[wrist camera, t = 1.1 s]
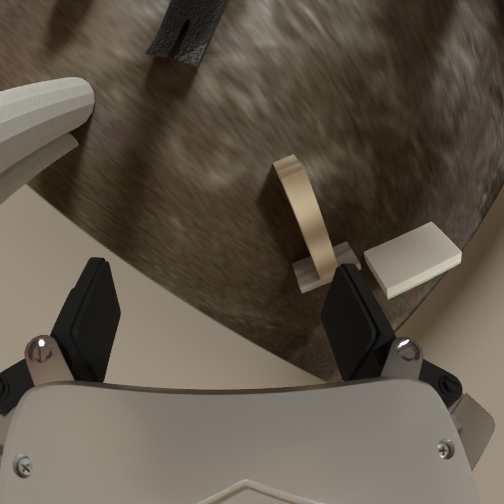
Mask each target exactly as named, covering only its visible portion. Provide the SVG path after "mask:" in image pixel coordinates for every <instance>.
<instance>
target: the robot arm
mask: <svg viewBox="0 0 504 504" xmlns="http://www.w3.org/2000/svg"><path fill="white" fill-rule="evenodd" d="M120 315H121V312H120V307H119V303H118V299H117V295H116V291H115V287H114V282H113V278H112V274H111V269H110V265H109V262H108V261H105V259H104V258H96V257H92V258H90V259H89V261H88V263H87V264H86V266H85V268H84V270H83V272H82V274H81V276H80V278H79V280H78V282H77V284H76V286H75V287H74V288H73V289H72V290H71V291H70V293H69V295H68V297H67V299H66V301H65V303H64V305H63V307H62V309H61V312H60V314H59V316H58V318H57V321H56V323H55V325H54V327H53V330H52V332H51V334H50V336H48V335H40V336H37V337H35V338H33V339H32V340H31V341H30V342H29V343H28V344H27V346H26V348H25V359H23V360H21V361H20V362H18V363H16V364H14V365H13V366H11V367H10V368H8V369H6V370H4V371H3V372H1V373H0V504H480V502H479V498H478V494H477V489H476V485H475V482H474V478H473V474H472V471H473V469H474V467H475V466H476V464H477V462H478V461H479V459H480V457H481V455H482V454H483V452H484V450H485V448H486V446H487V444H488V442H489V440H490V438H491V436H492V434H493V432H494V429H495V422H494V419H493V417H492V416H491V415H490V414H489V413H488V412H487V411H486V410H485V409H484V408H483V407H482V406H481V405H479V404H478V403H477V402H476V401H475V400H474V399H473V398H472V397H471V396H470V395H468V394H467V393H465V394H463V393H462V385H461V383H460V381H459V380H458V379H457V377H455V376H454V375H452V374H451V373H449V372H447V371H445V370H443V369H441V368H439V367H437V366H436V365H434V364H432V363H430V362H428V361H426V360H424V359H423V350H422V348H421V346H420V345H419V344H418V343H417V342H416V341H415V340H413V339H411V338H408V337H398V338H396V336H395V334H394V331H393V329H392V327H391V325H390V323H389V322H388V320H387V318H386V316H385V314H384V312H383V311H382V309H381V307H380V305H379V304H378V302H377V300H376V298H375V297H374V295H373V293H372V291H371V290H370V288H369V286H368V284H367V283H366V281H365V279H364V278H363V276H362V274H361V273H360V271H359V269H358V268H357V266H356V265H355V264H354V263H342V264H341V265H340V267H337V268H336V270H335V273H334V276H333V279H332V283H331V286H330V289H329V292H328V295H327V297H326V300H325V303H324V306H323V309H322V312H321V319H322V322H323V325H324V328H325V331H326V334H327V336H328V339H329V342H330V345H331V348H332V351H333V353H334V356H335V359H336V362H337V365H338V368H339V371H340V374H341V377H342V379H343V381H344V382H335V383H326V384H317V385H307V386H297V387H284V388H267V389H244V390H243V389H242V390H241V389H240V390H195V389H192V390H191V389H168V388H152V387H140V386H139V387H138V386H128V385H117V384H108V383H103V381H104V379H105V374H106V370H107V366H108V362H109V357H110V353H111V349H112V346H113V342H114V338H115V334H116V330H117V327H118V323H119V320H120Z"/></svg>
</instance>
